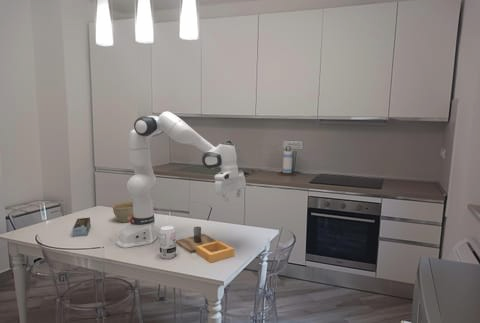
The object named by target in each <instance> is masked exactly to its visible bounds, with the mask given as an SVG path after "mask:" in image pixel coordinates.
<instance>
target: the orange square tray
mask: <svg viewBox="0 0 480 323" xmlns="http://www.w3.org/2000/svg"><path fill="white" fill-rule="evenodd" d="M195 254H196V255H197V256H199V257H200V258H201V259H204V260H205V261H207V262H208V263H210V264H211V263H214V262H218V261H221V260H225V259H229V258H232V257H235V256H234V255H235V248H234V247H233V246H230V245H228V244H226V243H225V242H223V241H221V240H216V241H215V242H211V243H207V244H203V245H199V246H196V252H195Z"/></svg>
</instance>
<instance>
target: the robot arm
mask: <svg viewBox="0 0 480 323" xmlns="http://www.w3.org/2000/svg"><path fill="white" fill-rule="evenodd" d="M163 133H164V134H166V135H167V136H168V137H169V138H171V139H172V140H173V141H175V142H177V143H179V144H186V145H190V146H194V147H196V148H197V149H199V150H200V151H201V152H203V155H202V157H201V162H202V165H203V166H204V167H205V168H207V169H209V170H210V169H211V170H214V169H216V168H220V171H219V172H218V173H216V174H215V175H214V176H213V177H214V180H215V181H214V190H215V193H216V195H217V196H219V195H220V196H221V197H222V198H223V199H224V200H223V201H224V202H225V203H227V202H229V201H230V200H229V197H227V194H228V193H231V192H234V191H237V192H236V194H235V195H236V198H241V196H242V194H241V193H242V190H243V188H244V189H245V188H246V187H247V183H246V182H247V181H246V177H245V173H244V172H243V171H242V170H239V168H238V167H239V166H238V162H237V159H238V156H237V152H236V151H237V150H236V147H235V145H234V144H233V143H231V142H220V143H219V144H217V145H214V144H212V143H211V142H210V141H208V140H207V139H206V138H205V137H203V136H202V135H200V134H199V133H198V132H197V131H195V129H193V128H192V127H191V126H190V125H189V124H187V122H186V121H184V120H183V119H181V118H180V117H178V116H177V115H176V114H175V113H173V112H171V111H168V110H166V111H163V112H161V113H160V114H159V115H152V114H151V115H147V116H146V115H145V116H140V117H137V119H135V120H134V124H133V129H132V130H131V131H130V132H129V135H128V136H129V138H128V151H129V152H128V153H129V161H130V162H129V163H130V165H131V166H132V168H133V171H134V175H132V176H131V177H130V178H129V179H128V181H127V183H126V189H127V191H128V192H129V194H130V197H131V200H132V201H131V202H133V217H132V218H131V217H128V218H127V219H128V220H129V221H130V223H129V224H128V225H126V226H125V228H123V229H122V230H121V232H120V235H119V238H118V239H116V241H115V244H116V245H117V246H118V247H120V248H124V249H126V248H133V247H139V246H141V247H142V246H146V245H152V244H153V243H154V242H155V241H156V240H157V239H158V235H157V233H156V228H155V214H154V200H153V199H152V197H151V193H150V189H152V188H153V187H154V186H155V184H156V182H157V177H156V175H155V174H154V173H155V172H154V170H153V169H154V168H153V164H152V159H151V150H150V149H151V148H150V147H151V146H150V140H151V137H156V136H160V135H161V134H163Z"/></svg>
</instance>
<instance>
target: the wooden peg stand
mask: <svg viewBox="0 0 480 323" xmlns="http://www.w3.org/2000/svg"><path fill="white" fill-rule="evenodd" d="M215 241H217V240H215V239H214V238H212V237H210V236H208V235H207V234H205V233H202V227H201V226H194V227H193V236H188V237H184V238H180V239H176V245H178V246H180V247H181V248H183V249H184V250H185V251H187V252H188V253H190V254H194V253H196V246H199V245H203V244H207V243H211V242H215Z"/></svg>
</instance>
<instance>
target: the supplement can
mask: <svg viewBox="0 0 480 323" xmlns="http://www.w3.org/2000/svg"><path fill="white" fill-rule="evenodd" d="M176 234H177V230H176V228H175V226H173V225H169V224H168V225H162V226H161V227H159V230H158V237H159V238H158V239H159V257H161V259H165V260H167V259H169V260H170V259H173V258H175V257H176V255H177V243H176V240H177V235H176Z"/></svg>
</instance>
